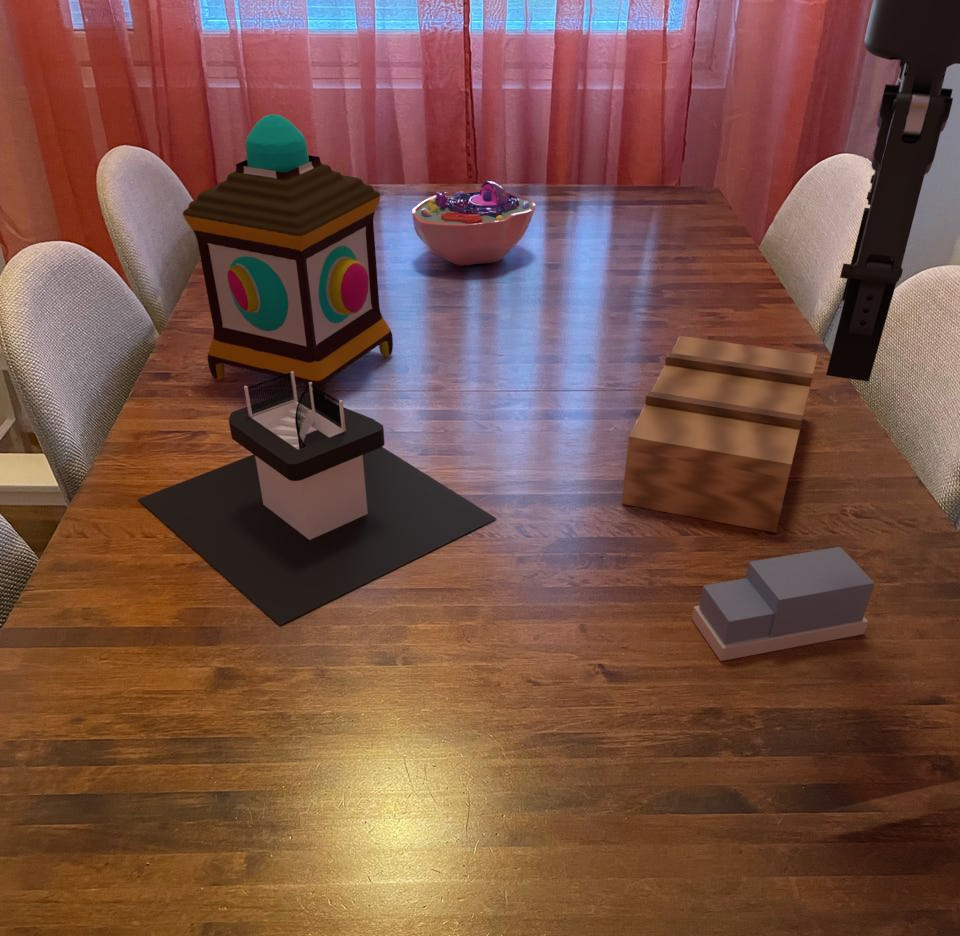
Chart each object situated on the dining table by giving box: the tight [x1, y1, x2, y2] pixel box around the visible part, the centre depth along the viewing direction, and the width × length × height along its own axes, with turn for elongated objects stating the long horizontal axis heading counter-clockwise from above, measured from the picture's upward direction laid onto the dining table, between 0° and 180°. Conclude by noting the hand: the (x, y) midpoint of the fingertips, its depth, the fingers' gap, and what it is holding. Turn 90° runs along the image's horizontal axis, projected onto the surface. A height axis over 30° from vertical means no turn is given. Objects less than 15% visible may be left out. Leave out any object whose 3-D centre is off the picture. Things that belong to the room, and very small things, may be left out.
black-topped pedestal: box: [137, 371, 498, 626], centre depth 98 cm, size 28×26×13 cm
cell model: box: [411, 180, 537, 266], centre depth 155 cm, size 17×20×11 cm
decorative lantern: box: [182, 114, 394, 399], centre depth 119 cm, size 20×20×30 cm
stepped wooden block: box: [621, 335, 818, 534], centre depth 108 cm, size 16×26×9 cm, turn 160°
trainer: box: [691, 546, 875, 662], centre depth 86 cm, size 14×6×6 cm, turn 105°
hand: (854, 336), depth 69 cm, fingers open, 13 cm apart
